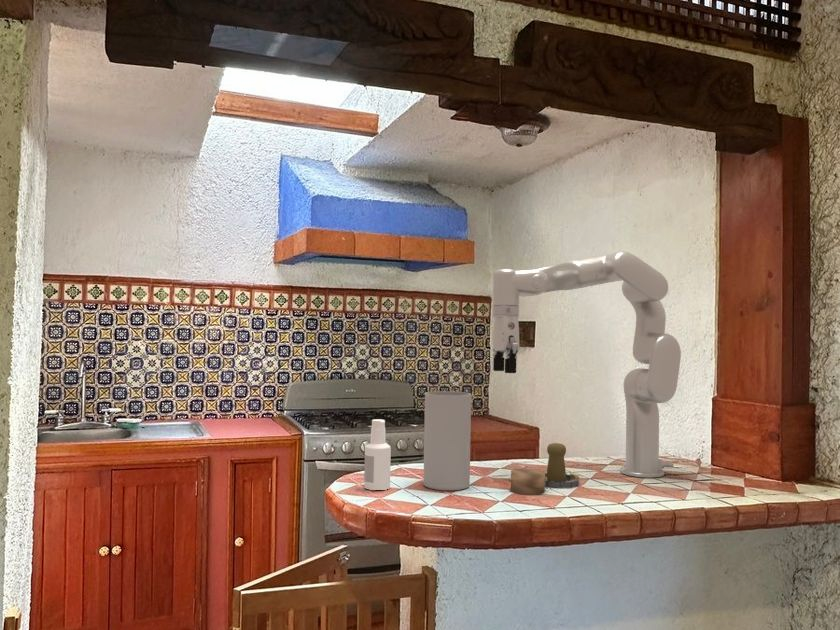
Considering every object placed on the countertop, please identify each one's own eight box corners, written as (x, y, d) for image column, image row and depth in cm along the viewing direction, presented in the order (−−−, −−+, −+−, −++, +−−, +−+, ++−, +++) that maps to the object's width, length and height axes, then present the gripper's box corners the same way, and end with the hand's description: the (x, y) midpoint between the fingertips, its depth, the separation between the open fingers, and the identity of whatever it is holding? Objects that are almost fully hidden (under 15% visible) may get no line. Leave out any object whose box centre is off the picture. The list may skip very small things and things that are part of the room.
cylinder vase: (458, 479, 194) (460, 391, 195) (477, 489, 182) (478, 395, 183) (416, 482, 190) (418, 391, 190) (433, 492, 178) (434, 396, 178)
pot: (539, 486, 188) (539, 467, 188) (553, 494, 179) (553, 474, 179) (502, 487, 185) (503, 468, 186) (515, 495, 177) (515, 475, 177)
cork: (565, 481, 195) (566, 442, 195) (568, 486, 189) (568, 445, 189) (544, 480, 195) (544, 441, 196) (546, 485, 189) (546, 445, 190)
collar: (566, 477, 200) (567, 470, 200) (586, 487, 188) (586, 479, 188) (526, 479, 197) (526, 471, 197) (544, 488, 185) (544, 480, 185)
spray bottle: (373, 484, 186) (375, 417, 187) (394, 487, 183) (396, 419, 183) (358, 489, 180) (360, 420, 181) (380, 492, 177) (381, 422, 177)
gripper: (529, 312, 190) (528, 374, 190) (507, 313, 207) (506, 370, 207) (503, 311, 188) (502, 373, 188) (483, 312, 205) (482, 370, 205)
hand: (504, 371), depth 197 cm, fingers open, 9 cm apart
